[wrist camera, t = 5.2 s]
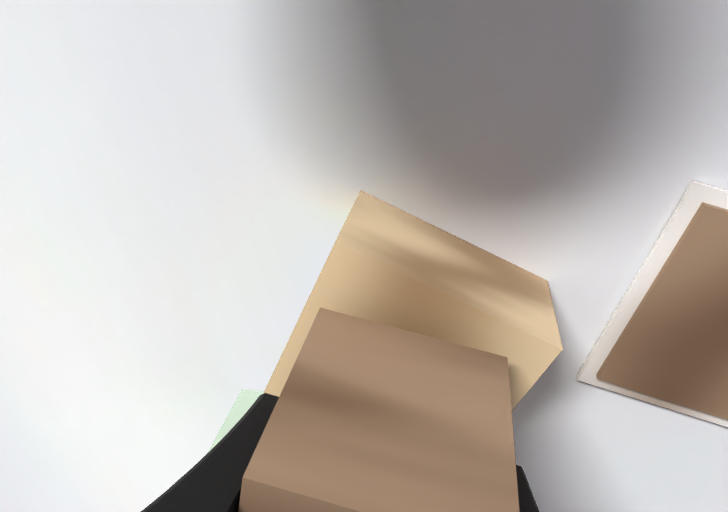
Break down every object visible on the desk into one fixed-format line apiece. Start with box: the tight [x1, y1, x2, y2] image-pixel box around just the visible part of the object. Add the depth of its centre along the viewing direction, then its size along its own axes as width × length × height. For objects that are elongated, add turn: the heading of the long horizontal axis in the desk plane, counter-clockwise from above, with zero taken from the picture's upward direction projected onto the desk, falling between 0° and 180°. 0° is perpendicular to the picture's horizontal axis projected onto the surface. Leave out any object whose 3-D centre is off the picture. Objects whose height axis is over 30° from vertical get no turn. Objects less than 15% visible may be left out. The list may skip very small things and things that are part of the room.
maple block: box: [263, 191, 563, 410], centre depth 16 cm, size 6×6×4 cm
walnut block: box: [238, 308, 519, 512], centre depth 12 cm, size 4×4×5 cm
